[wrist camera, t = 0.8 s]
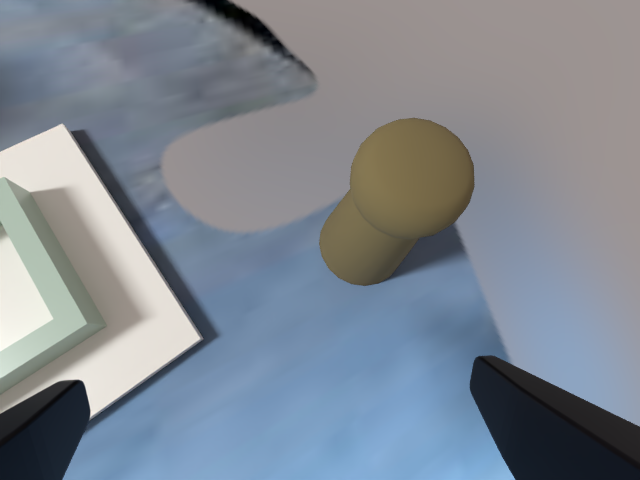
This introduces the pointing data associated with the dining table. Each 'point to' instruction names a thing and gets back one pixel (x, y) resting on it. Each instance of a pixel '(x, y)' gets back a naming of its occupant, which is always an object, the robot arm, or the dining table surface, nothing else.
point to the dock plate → (77, 281)
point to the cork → (396, 199)
